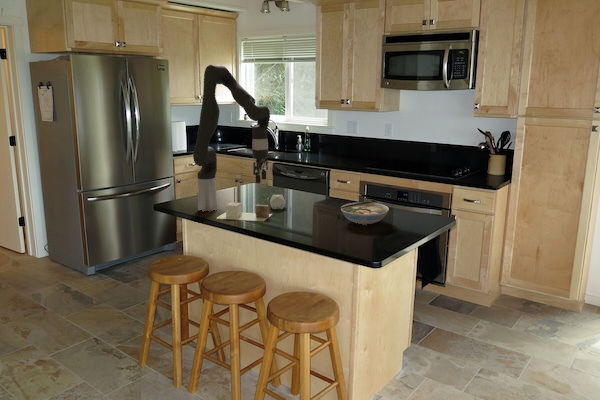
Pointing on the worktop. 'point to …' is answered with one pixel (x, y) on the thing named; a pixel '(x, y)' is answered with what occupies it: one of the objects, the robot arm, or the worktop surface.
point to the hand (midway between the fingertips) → (261, 181)
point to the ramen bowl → (364, 212)
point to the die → (277, 202)
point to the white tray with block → (251, 214)
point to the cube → (233, 209)
